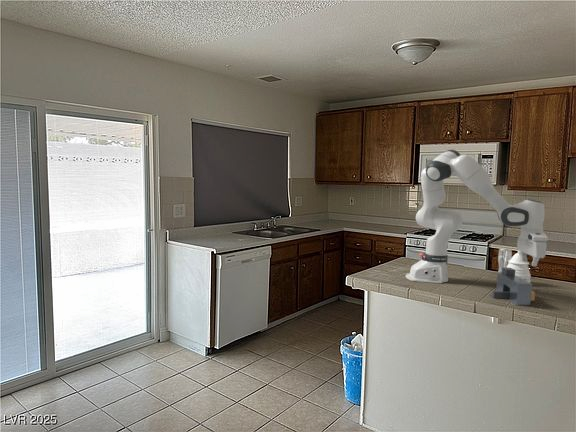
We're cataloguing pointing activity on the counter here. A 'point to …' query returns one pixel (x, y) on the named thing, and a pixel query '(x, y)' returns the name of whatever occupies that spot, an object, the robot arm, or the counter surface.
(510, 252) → the beer glass
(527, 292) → the grey block
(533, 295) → the plug
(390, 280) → the counter surface
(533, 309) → the counter surface
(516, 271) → the honey pot
